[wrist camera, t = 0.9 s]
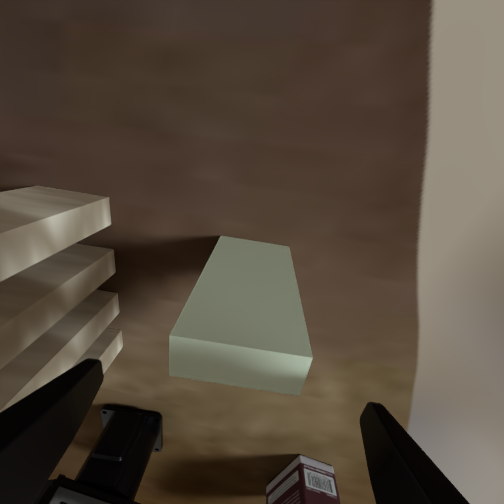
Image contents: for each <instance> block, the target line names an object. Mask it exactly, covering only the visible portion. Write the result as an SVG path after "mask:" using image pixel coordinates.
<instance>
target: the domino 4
mask: <svg viewBox="0 0 504 504" xmlns="http://www.w3.org/2000/svg"><path fill="white" fill-rule="evenodd" d="M312 359H313V356H312V352H311V347H310V342H309V338H308V333H307V328H306V323H305V319H304V314H303V309H302V305H301V300H300V295H299V291H298V286H297V281H296V276H295V272H294V267H293V262H292V258H291V253H290V248H289V247H288V246H282V245H276V244H270V243H263V242H257V241H251V240H245V239H239V238H232V237H226V236H220V238H219V240H218V242H217V244H216V246H215V248H214V250H213V252H212V254H211V256H210V258H209V259H208V261H207V263H206V265H205V267H204V269H203V271H202V273H201V275H200V277H199V279H198V281H197V283H196V285H195V287H194V289H193V291H192V293H191V295H190V296H189V298H188V300H187V302H186V304H185V306H184V308H183V310H182V312H181V314H180V316H179V318H178V320H177V322H176V324H175V326H174V328H173V330H172V332H171V333H170V338H169V376H175V377H181V378H188V379H194V380H200V381H207V382H213V383H220V384H226V385H232V386H239V387H245V388H252V389H258V390H264V391H271V392H277V393H284V394H290V395H296V396H300V393H301V391H302V388H303V385H304V382H305V379H306V376H307V373H308V370H309V368H310V365H311V362H312Z"/></svg>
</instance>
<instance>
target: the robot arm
mask: <svg viewBox="0 0 504 504" xmlns="http://www.w3.org/2000/svg"><path fill="white" fill-rule="evenodd" d="M103 378H104V375H103V368H102V362H101V360H99V359H93V358H87V359H85V360H83V361H82V362H80V363H78V364H77V365H75V366H74V367H72V368H70V369H69V370H67V371H66V372H64V373H62V374H61V375H59V376H58V377H56V378H54V379H53V380H51V381H50V382H48V383H46V384H45V385H43V386H42V387H40V388H38V389H37V390H35V391H34V392H32V393H30V394H29V395H27V396H26V397H24V398H22V399H21V400H19V401H18V402H16V403H15V404H13V405H11V406H10V407H8V408H7V409H5V410H3V411H2V412H0V504H140V503H137V502H135V501H134V499H135V496H136V493H137V491H138V488H139V485H140V483H141V480H142V477H143V475H144V472H145V469H146V467H147V464H148V461H149V459H150V456H151V453H152V451H153V452H160V451H161V449H162V446H163V440H162V416H161V415H160V414H157V413H151V412H144V411H138V410H131V409H125V408H118V407H112V406H103V407H102V409H101V410H100V413H101V419H102V425H103V431H102V433H101V434H100V436H99V438H98V440H97V441H96V443H95V445H94V447H93V448H92V450H91V452H90V454H89V455H88V457H87V459H86V460H85V462H84V464H83V466H82V467H81V469H80V471H79V473H78V474H77V476H76V478H75V480H72V479H69V478H66V476H65V475H62V474H60V475H59V476H58V478H57V479H54V480H48V479H49V477H50V475H51V474H52V472H53V471H54V469H55V467H56V466H57V464H58V463H59V461H60V459H61V458H62V456H63V455H64V453H65V451H66V450H67V448H68V447H69V445H70V443H71V442H72V440H73V438H74V437H75V435H76V433H77V431H78V429H79V428H80V426H81V424H82V422H83V420H84V418H85V416H86V414H87V412H88V410H89V408H90V406H91V404H92V402H93V400H94V398H95V396H96V394H97V392H98V390H99V388H100V386H101V384H102V382H103ZM360 427H361V433H362V438H363V444H364V449H365V455H366V460H367V466H368V471H369V476H370V481H371V485H372V489H373V493H374V496H375V500H376V504H469V503H468V501H467V500H466V499H465V498H464V497H463V496H462V494H461V493H460V492H459V491H458V490H457V489H456V488H455V486H454V485H453V484H452V483H451V482H450V481H449V480H448V479H447V477H445V475H444V474H443V473H442V472H441V471H440V469H439V468H438V467H437V466H436V465H435V464H434V463H433V462H432V460H431V459H430V458H429V457H428V456H427V455H426V453H425V452H424V451H423V450H422V449H421V448H420V447H419V445H418V444H417V443H416V442H415V441H414V440H413V439H412V437H410V435H409V434H408V433H407V432H406V431H405V430H404V428H403V427H402V426H401V425H400V424H399V423H398V422H397V420H396V419H395V418H394V417H393V416H392V415H391V414H390V412H389V411H388V410H387V409H386V408H385V407H384V406H383V405H382V404H380V403H375V402H368V403H367V405H366V407H365V409H364V410H363V412H362V414H361V416H360Z"/></svg>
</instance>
